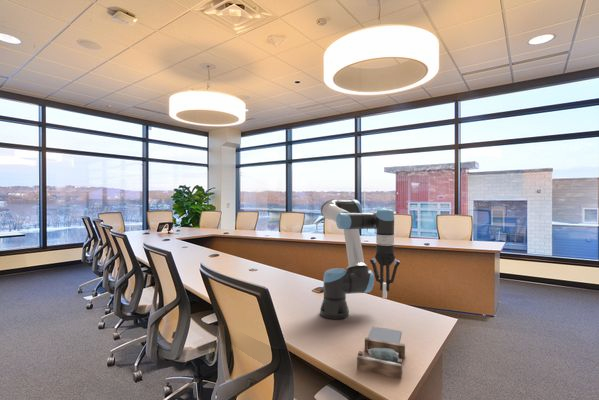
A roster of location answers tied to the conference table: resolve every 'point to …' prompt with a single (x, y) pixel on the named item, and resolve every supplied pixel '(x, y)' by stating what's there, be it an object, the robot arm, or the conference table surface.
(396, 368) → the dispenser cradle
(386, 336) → the slate mat
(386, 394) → the conference table surface
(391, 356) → the packaged food
